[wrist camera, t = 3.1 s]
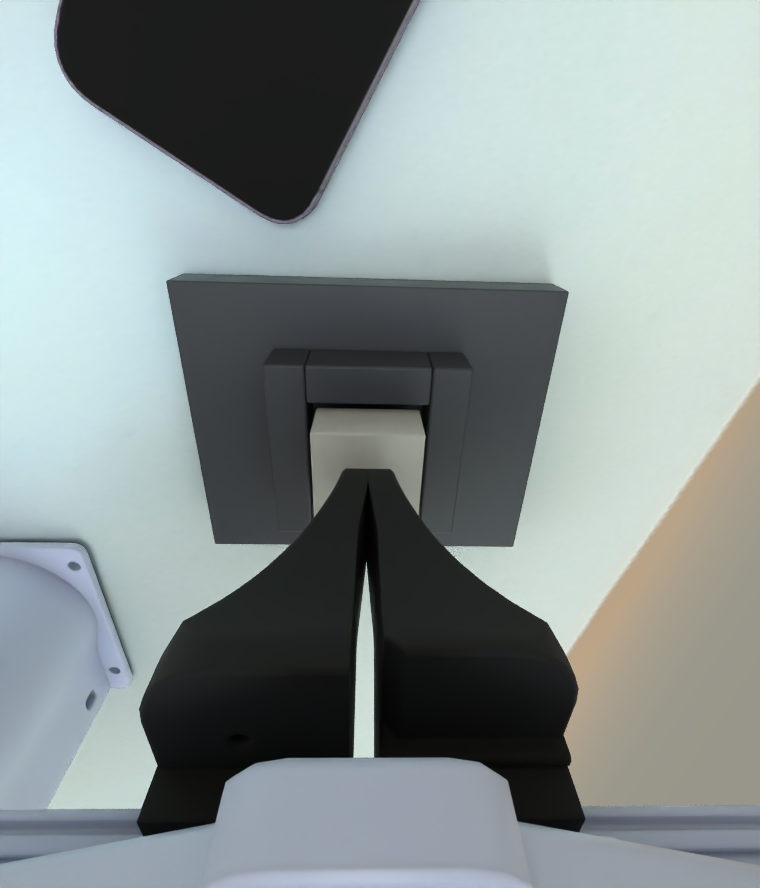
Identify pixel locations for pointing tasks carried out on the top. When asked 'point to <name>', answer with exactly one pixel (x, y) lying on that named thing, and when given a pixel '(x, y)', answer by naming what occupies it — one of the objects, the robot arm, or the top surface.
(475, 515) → the dark grey light switch
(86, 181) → the top surface
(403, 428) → the key
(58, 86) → the top surface
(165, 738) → the robot arm
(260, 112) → the smartphone
